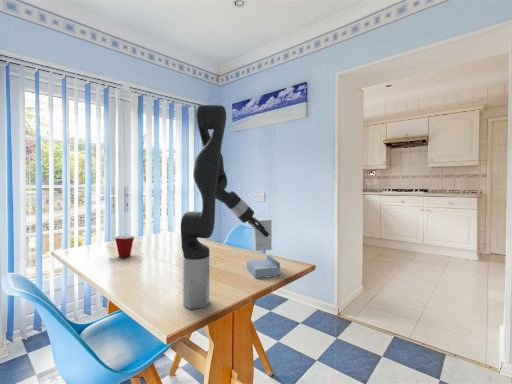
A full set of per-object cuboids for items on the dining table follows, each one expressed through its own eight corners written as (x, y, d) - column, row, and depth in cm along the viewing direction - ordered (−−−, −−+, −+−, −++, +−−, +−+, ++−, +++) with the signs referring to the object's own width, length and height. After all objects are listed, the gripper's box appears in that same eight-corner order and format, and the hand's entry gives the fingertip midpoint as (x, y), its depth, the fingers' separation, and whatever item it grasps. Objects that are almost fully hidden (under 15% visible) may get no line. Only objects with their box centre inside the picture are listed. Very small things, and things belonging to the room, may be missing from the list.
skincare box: (268, 247, 133) (268, 217, 132) (271, 250, 127) (272, 219, 126) (251, 248, 131) (252, 218, 130) (254, 251, 125) (255, 220, 124)
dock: (279, 275, 125) (279, 263, 125) (255, 278, 121) (255, 265, 121) (269, 266, 138) (269, 255, 138) (246, 268, 134) (246, 257, 134)
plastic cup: (138, 254, 159) (138, 234, 158) (128, 259, 148) (128, 238, 148) (121, 253, 160) (121, 233, 160) (110, 258, 149) (109, 237, 149)
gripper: (251, 206, 119) (276, 231, 123) (243, 203, 132) (265, 226, 137) (240, 218, 117) (265, 243, 122) (233, 214, 131) (255, 236, 135)
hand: (265, 234), depth 129 cm, fingers closed on skincare box, 6 cm apart
